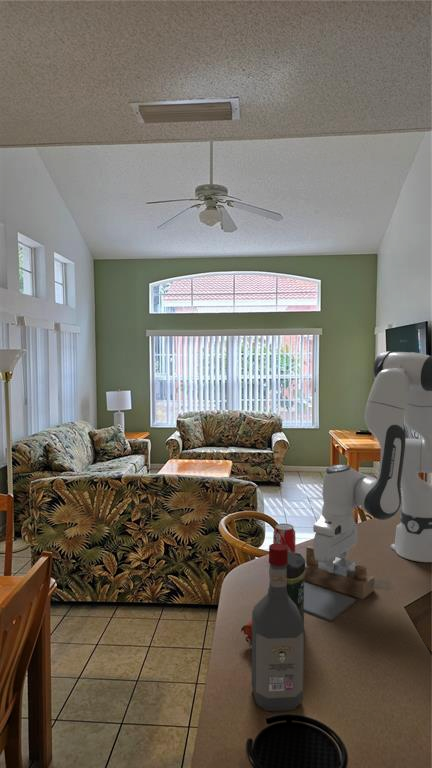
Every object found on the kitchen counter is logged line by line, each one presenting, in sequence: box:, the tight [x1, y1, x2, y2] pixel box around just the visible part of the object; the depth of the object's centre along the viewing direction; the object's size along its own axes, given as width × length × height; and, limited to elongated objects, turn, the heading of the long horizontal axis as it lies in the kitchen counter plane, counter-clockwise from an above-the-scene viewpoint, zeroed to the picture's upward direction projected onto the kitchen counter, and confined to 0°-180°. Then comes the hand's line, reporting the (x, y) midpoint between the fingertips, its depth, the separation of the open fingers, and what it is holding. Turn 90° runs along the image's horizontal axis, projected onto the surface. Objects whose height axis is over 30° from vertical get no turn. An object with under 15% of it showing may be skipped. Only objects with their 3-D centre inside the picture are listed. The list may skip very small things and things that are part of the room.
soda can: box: [272, 523, 296, 553], centre depth 168 cm, size 7×7×12 cm
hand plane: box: [304, 545, 375, 600], centre depth 152 cm, size 20×7×9 cm, turn 49°
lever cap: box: [318, 556, 356, 578], centre depth 152 cm, size 9×5×4 cm, turn 49°
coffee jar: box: [268, 551, 306, 623], centre depth 127 cm, size 10×8×19 cm
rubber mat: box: [304, 581, 357, 622], centre depth 143 cm, size 14×18×1 cm
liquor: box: [251, 543, 305, 712], centre depth 102 cm, size 9×9×30 cm
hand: (336, 567), depth 152 cm, fingers closed on lever cap, 5 cm apart
